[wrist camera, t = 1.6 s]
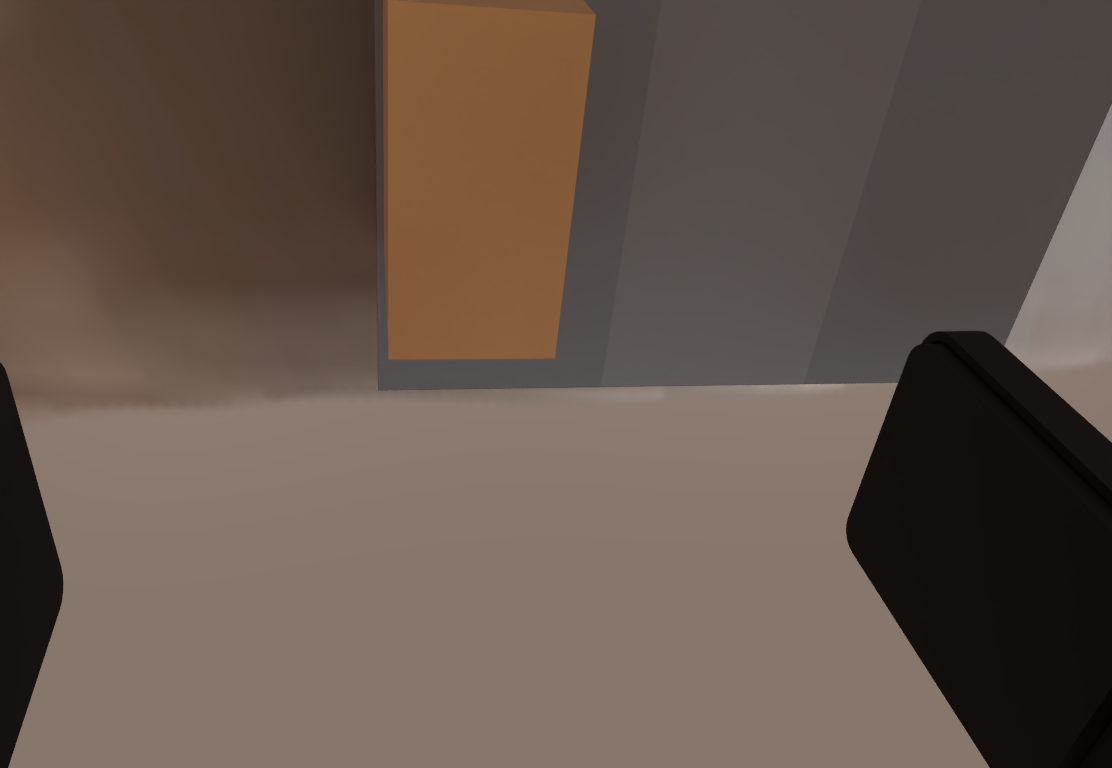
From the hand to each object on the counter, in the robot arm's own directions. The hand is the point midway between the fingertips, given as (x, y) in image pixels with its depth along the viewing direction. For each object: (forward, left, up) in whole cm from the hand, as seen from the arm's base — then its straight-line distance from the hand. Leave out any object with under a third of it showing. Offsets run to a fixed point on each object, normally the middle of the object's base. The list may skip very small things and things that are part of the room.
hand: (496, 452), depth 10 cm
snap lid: (-7, 0, -13) cm, 14 cm away
